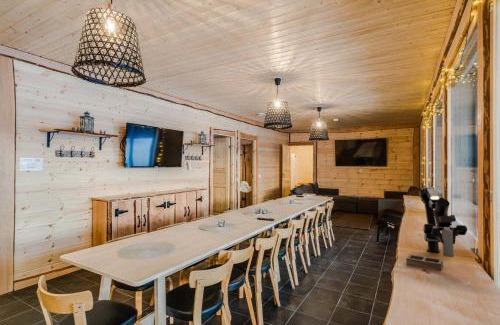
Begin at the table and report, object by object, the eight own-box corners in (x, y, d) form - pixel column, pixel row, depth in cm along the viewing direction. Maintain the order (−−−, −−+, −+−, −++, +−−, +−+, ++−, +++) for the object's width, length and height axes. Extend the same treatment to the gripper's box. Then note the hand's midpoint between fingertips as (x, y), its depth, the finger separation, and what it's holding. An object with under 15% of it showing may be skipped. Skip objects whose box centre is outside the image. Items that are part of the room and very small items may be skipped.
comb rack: (409, 260, 155) (409, 254, 155) (443, 266, 144) (442, 259, 144) (406, 264, 148) (406, 258, 148) (441, 270, 138) (440, 264, 138)
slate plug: (444, 253, 143) (442, 226, 144) (455, 255, 140) (453, 227, 140) (441, 255, 140) (440, 227, 141) (452, 257, 137) (451, 228, 137)
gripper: (423, 209, 148) (429, 234, 137) (465, 209, 141) (474, 236, 130) (421, 220, 155) (426, 245, 145) (460, 221, 148) (469, 247, 138)
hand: (448, 243), depth 139 cm, fingers closed on slate plug, 5 cm apart
